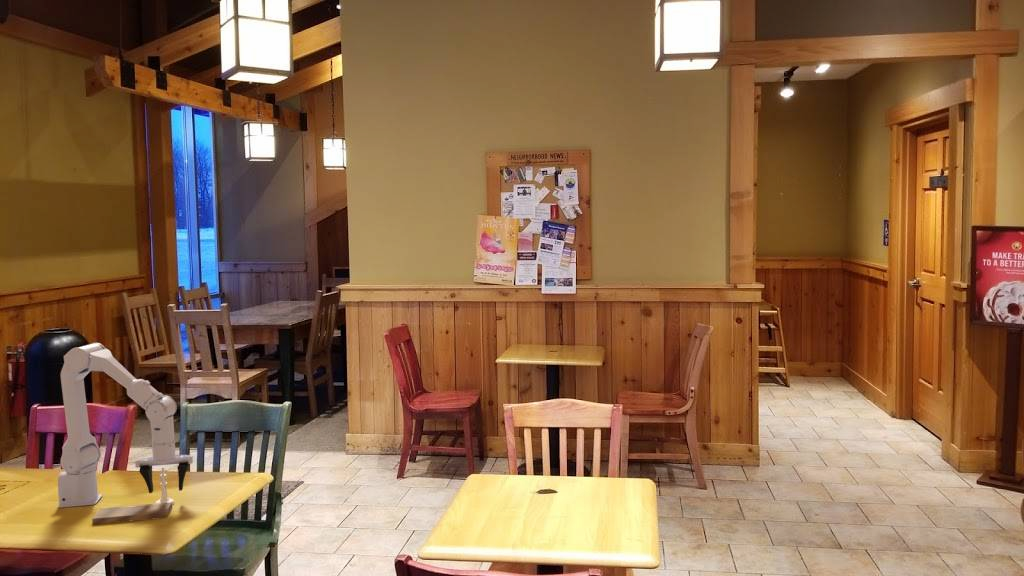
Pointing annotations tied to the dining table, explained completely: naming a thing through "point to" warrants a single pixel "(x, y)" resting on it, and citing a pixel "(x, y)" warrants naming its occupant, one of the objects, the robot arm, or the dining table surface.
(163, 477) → the chess piece
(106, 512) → the walnut board
